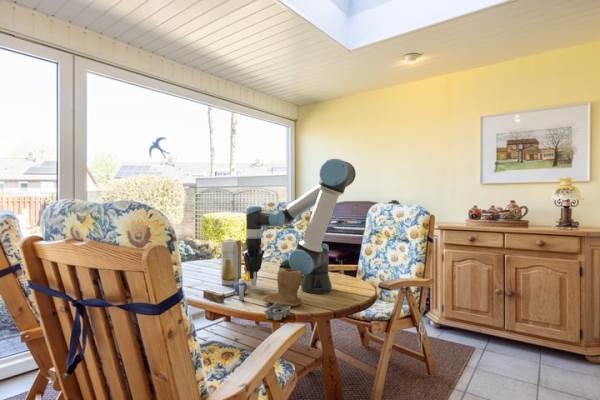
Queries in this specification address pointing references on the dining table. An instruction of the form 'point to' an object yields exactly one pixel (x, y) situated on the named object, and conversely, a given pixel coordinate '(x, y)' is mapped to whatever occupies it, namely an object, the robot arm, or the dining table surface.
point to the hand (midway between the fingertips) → (253, 285)
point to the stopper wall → (213, 296)
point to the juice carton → (230, 261)
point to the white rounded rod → (241, 289)
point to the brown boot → (286, 288)
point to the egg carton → (277, 311)
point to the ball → (236, 287)
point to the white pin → (229, 293)
